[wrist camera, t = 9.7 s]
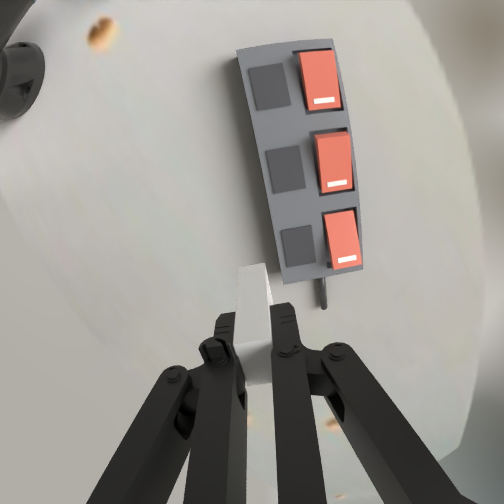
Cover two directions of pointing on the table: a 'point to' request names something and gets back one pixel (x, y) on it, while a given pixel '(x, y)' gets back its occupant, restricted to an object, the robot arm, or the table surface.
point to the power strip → (296, 158)
